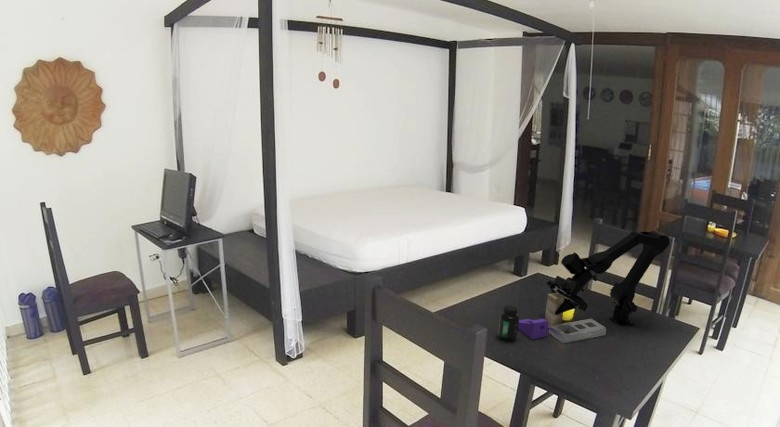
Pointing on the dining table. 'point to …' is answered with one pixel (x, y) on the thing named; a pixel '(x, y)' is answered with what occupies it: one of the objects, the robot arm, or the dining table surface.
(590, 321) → the grey flat block
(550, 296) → the peg
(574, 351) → the dining table surface
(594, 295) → the dining table surface
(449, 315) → the dining table surface
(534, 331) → the bracket
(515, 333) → the supplement bottle
